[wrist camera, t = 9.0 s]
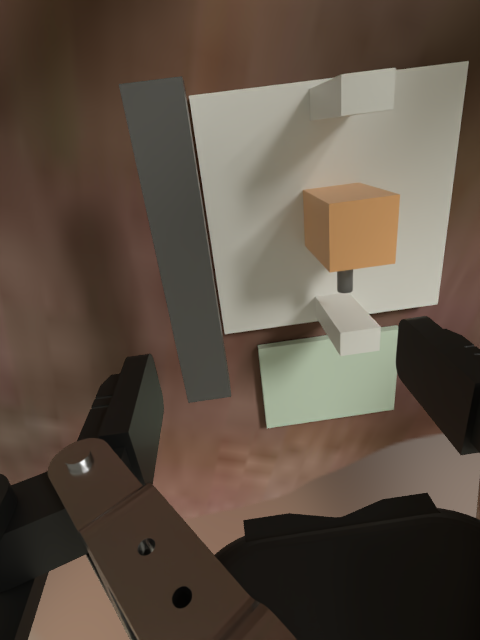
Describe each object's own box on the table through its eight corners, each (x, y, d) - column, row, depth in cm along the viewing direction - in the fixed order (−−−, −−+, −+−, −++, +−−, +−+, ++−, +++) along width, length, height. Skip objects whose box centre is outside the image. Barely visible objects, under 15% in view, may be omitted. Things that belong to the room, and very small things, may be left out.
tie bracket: (456, 64, 28) (549, 37, 21) (428, 298, 37) (488, 340, 29) (189, 97, 28) (183, 82, 20) (223, 326, 36) (229, 377, 28)
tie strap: (183, 82, 20) (181, 76, 18) (229, 380, 28) (231, 396, 26) (126, 89, 20) (118, 84, 18) (189, 385, 28) (188, 402, 26)
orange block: (359, 182, 30) (400, 194, 24) (356, 272, 33) (392, 303, 27) (302, 189, 30) (329, 203, 23) (306, 279, 33) (330, 312, 27)
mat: (396, 325, 38) (400, 329, 37) (390, 405, 42) (393, 409, 41) (257, 345, 37) (258, 349, 36) (265, 423, 42) (267, 428, 41)
